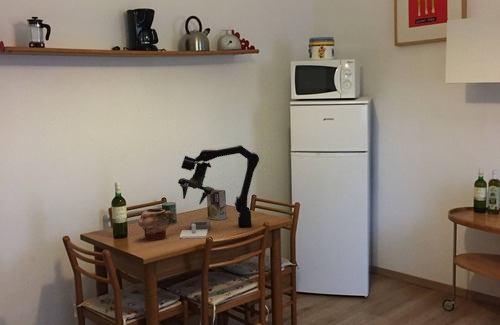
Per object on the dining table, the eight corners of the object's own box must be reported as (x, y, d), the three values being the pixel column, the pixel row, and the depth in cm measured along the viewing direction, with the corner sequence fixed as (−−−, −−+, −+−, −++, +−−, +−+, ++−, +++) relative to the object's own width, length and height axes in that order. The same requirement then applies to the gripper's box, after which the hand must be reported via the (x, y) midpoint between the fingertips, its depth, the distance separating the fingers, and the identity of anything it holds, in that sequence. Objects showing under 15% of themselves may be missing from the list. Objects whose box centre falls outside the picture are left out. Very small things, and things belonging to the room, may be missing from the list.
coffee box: (227, 218, 313) (225, 190, 311) (220, 220, 307) (219, 192, 305) (214, 216, 318) (212, 189, 316) (207, 218, 312) (206, 190, 310)
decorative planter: (165, 231, 287) (164, 205, 285) (181, 234, 279) (179, 207, 277) (133, 239, 272) (132, 211, 271) (148, 243, 264) (147, 215, 262)
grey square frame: (210, 225, 296) (209, 221, 295) (208, 230, 286) (208, 225, 285) (191, 226, 296) (191, 221, 295) (189, 231, 286) (189, 226, 285)
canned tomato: (178, 221, 309) (177, 201, 307) (175, 224, 301) (174, 204, 300) (164, 221, 310) (163, 202, 308) (160, 224, 302) (159, 204, 300)
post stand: (207, 231, 284) (207, 220, 284) (206, 237, 271) (205, 226, 271) (182, 232, 284) (182, 221, 283) (179, 238, 271) (179, 227, 270)
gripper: (178, 168, 282) (170, 197, 283) (211, 179, 278) (203, 209, 279) (185, 167, 293) (177, 195, 294) (218, 178, 289) (209, 206, 290)
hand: (191, 201), depth 289 cm, fingers open, 9 cm apart
